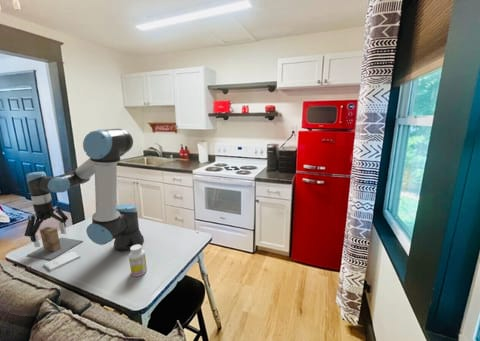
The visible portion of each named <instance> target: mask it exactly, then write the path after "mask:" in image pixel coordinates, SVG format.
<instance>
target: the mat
mask: <svg viewBox="0 0 480 341" xmlns="http://www.w3.org/2000/svg"><path fill="white" fill-rule="evenodd" d="M59 241H60V246H61V249H60V250H58V251H56V252H50V251H44V247H43V246H42V247H39V248H38V249H35V250H34V251H32V252H30V253H28V254H26V256H27V257H31V258H36V259H37V258H38V259H40V260H41V259H42V260H46V261H51V260H54V259H56V258H58V257H60V256H62V255H64V254H66V252H68V251H70V250H72V249H73V248H75V247H77V246H78V245H80V244H82V243H84V240H79V239H73V238H67V237H59Z"/></svg>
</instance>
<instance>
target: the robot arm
mask: <svg viewBox="0 0 480 341" xmlns="http://www.w3.org/2000/svg"><path fill="white" fill-rule="evenodd" d="M133 146H134V137H133V136H132V135H131V134H130V132H129V131H127V130H125V129H123V128H109V129H108V128H107V129H97V130H93V131H89V132H88V134H86V135H85V137H84V139H83V142H82V148H83V151H84V153H85V154H86V156H87V157H88V159H87V160H85V162H83V163H82V164H81V165H79V166H78V167H77V168H75V169H74V170H72V171H70V172H68V173H67V172H66V173H64V174H59V175H56V176H48V175H47V174H46V172H45V171H35V172H29V173H27V174H26V176H25V177H26V183H27V186H28V191H29V195H30V197H31V201H32V206H33V211H34V212H35V214H34V215H28V216H27V217H28V218H27V219H28V221H27V225H26V229H25V231H24V232H25V233H24V237H28V238H29V237H30V238H29V239H30V240H31V243H33V246H34V247H35V248H41V244H40V241H39V240H40V239H39V237H38V236H39V235H38V234H37V232H38V230H39V228H40V227H41V224H42V223H43V222H44V221H46V220H48V219H52V218H53V219H55V220H57V221H58V225H59V230H60V234H62V235H65V234H67V232H66V223H67V220H69V217H68V216H67V215H66V214H65V213H64V212H63V211H62V209H61V208H60V206H58V205H57V206H56V205H55V206H54V204H53V201H52V195H51V193H55V194H56V193H57V194H59V193H65V192H67V191H68V190H69V189H71V188H72V187H73V188H74V187H76V186H80V185H83V184H85V183H88V182H89V181H90V180H91V177H92V176H94V192H95V194H94V196H95V212H94V213H93V214H92V216H91V222H92V223H90V224H89V225H88V226H87V228H86V235H87V238H88V239H90V240H91V241H92V243H94V244H97V245H99V246H104V245H107V244H108V243H110V242H112V241H113V240H114V241H113V248H114V250H115V251H116V252H120V253H123V252H124V253H125V252H131V251H130V248H131V247H132V246H133V245H137V244H139V245H141V246H143V244H144V243H145V240H144V238H145V237H144V235H142V232H141V230H140V226H139V217H138V210H137V206H136V205H135V204H131V203H124V204H123V203H121V204H117V200H118V199H117V197H118V196H117V193H118V192H117V188H118V187H117V182H118V181H117V177H118V176H117V172H118V170H117V166H118V163H119V162H121V157H122V156H124V155H125V154H126V153H128V152H129V151H131V149H132V147H133ZM54 212H56V213H57V214H55V213H54Z"/></svg>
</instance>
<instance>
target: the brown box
mask: <svg viewBox="0 0 480 341" xmlns="http://www.w3.org/2000/svg"><path fill="white" fill-rule="evenodd" d="M39 233H40V238H41V241H42V247H44V251H50V252H56V251H58V250H60V249H61V246H60V241H59V238H60V237H59V232H58V228H55V227H50V226H45V227H43V228H41V229H39Z"/></svg>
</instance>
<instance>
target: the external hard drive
mask: <svg viewBox="0 0 480 341" xmlns="http://www.w3.org/2000/svg"><path fill="white" fill-rule="evenodd" d="M80 258H81V256H80V254H78V253H77V252H75V251H70V252H67V253H64V254H62V255H60V256H58V257H56V258H54V259H53V260H48V261H47V262H44V263H43V266H44V267H45V268H46V269H48V270H49V271H50V272H52V270H53V271H55V270H56V269H59V268H62V267H63V266H65V264H66V265H68V264H69V263H72V262H75V261H76V260H78V259H80ZM54 269H55V270H54Z"/></svg>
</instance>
